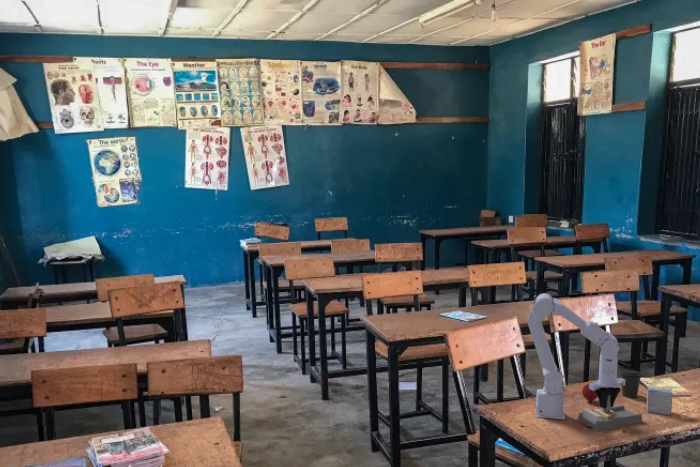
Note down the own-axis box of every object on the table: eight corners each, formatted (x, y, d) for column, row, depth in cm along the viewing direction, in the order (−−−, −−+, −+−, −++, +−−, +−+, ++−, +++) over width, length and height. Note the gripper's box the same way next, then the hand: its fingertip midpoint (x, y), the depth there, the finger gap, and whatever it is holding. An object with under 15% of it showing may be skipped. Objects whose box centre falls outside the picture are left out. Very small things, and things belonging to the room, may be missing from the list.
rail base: (597, 430, 194) (597, 418, 193) (578, 420, 202) (578, 407, 202) (641, 421, 201) (642, 409, 200) (621, 411, 209) (622, 399, 208)
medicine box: (670, 411, 209) (671, 388, 208) (671, 416, 205) (672, 392, 204) (646, 407, 212) (647, 385, 212) (646, 412, 208) (648, 389, 207)
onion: (600, 404, 215) (601, 384, 215) (585, 404, 216) (586, 384, 215) (594, 398, 221) (595, 378, 220) (579, 398, 221) (580, 378, 221)
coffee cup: (623, 390, 230) (624, 366, 229) (644, 395, 224) (645, 371, 223) (614, 395, 224) (615, 370, 223) (636, 401, 218) (637, 376, 217)
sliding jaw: (607, 421, 197) (608, 399, 196) (594, 414, 202) (595, 393, 202) (618, 419, 199) (619, 397, 198) (605, 412, 204) (606, 391, 203)
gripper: (600, 376, 192) (598, 414, 194) (633, 370, 197) (631, 408, 199) (585, 369, 199) (583, 406, 200) (617, 364, 204) (615, 400, 205)
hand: (606, 407), depth 200 cm, fingers closed on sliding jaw, 2 cm apart
